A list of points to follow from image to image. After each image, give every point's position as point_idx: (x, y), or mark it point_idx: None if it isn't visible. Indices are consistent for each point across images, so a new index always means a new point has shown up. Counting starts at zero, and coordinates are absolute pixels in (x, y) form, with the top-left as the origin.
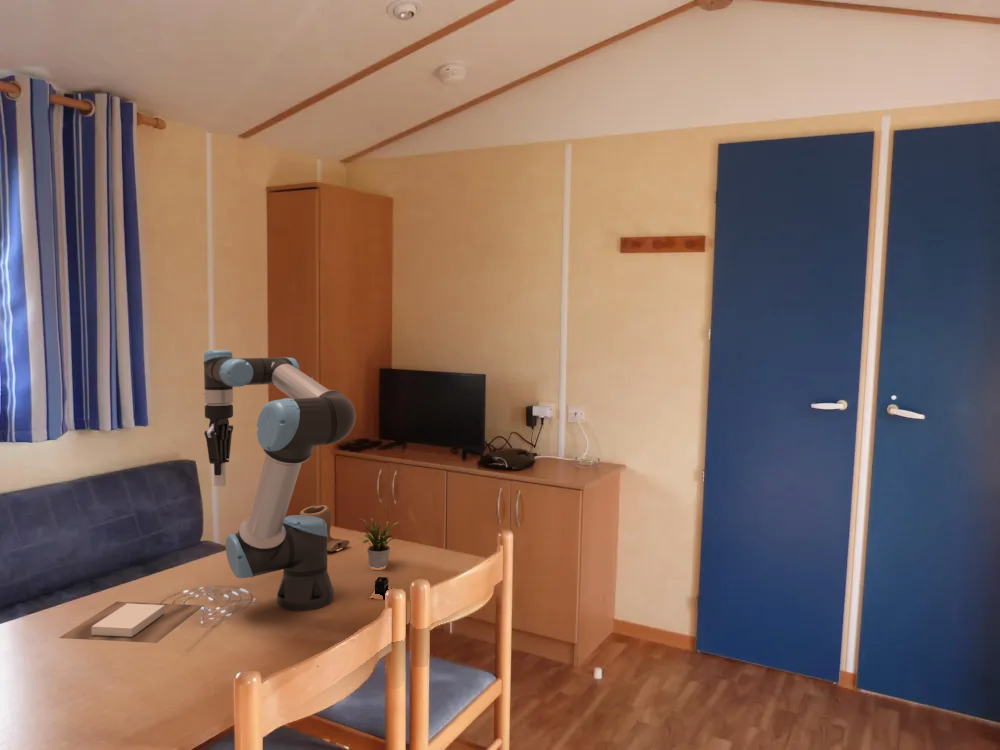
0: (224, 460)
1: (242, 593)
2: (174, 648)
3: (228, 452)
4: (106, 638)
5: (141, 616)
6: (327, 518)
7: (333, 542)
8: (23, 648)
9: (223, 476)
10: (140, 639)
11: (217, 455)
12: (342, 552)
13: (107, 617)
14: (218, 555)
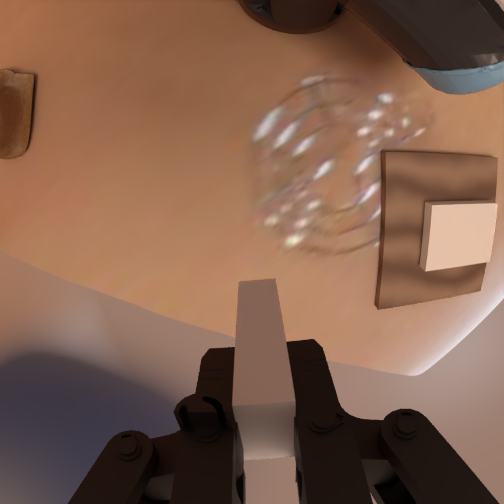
0: (234, 434)
1: (285, 118)
2: (489, 133)
3: (117, 494)
4: None
5: (468, 215)
6: None
7: (13, 80)
8: (478, 313)
9: (277, 316)
10: (492, 185)
11: (453, 475)
12: (25, 64)
13: (468, 262)
14: (100, 290)
